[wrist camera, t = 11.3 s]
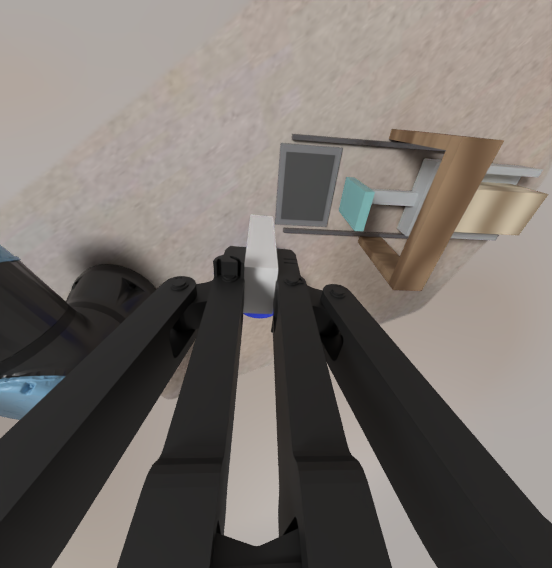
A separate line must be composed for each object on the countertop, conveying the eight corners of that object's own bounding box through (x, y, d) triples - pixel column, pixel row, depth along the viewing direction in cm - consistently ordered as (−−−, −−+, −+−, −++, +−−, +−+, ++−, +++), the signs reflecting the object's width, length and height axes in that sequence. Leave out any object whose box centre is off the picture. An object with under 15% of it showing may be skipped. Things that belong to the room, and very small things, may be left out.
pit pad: (275, 223, 40) (275, 224, 40) (280, 142, 33) (280, 143, 33) (326, 226, 41) (326, 227, 41) (342, 147, 34) (342, 148, 34)
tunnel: (357, 242, 43) (393, 290, 31) (391, 129, 33) (463, 137, 21) (378, 243, 43) (421, 290, 32) (418, 131, 33) (504, 140, 21)
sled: (332, 225, 40) (348, 251, 33) (348, 152, 34) (373, 163, 26) (481, 232, 42) (529, 258, 35) (523, 165, 36) (593, 179, 28)
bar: (421, 217, 39) (443, 231, 34) (438, 178, 36) (466, 188, 31) (487, 220, 40) (518, 235, 35) (510, 183, 37) (548, 194, 32)
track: (282, 232, 41) (283, 235, 40) (292, 130, 32) (293, 130, 31) (442, 240, 43) (446, 243, 42) (492, 146, 35) (499, 147, 34)
